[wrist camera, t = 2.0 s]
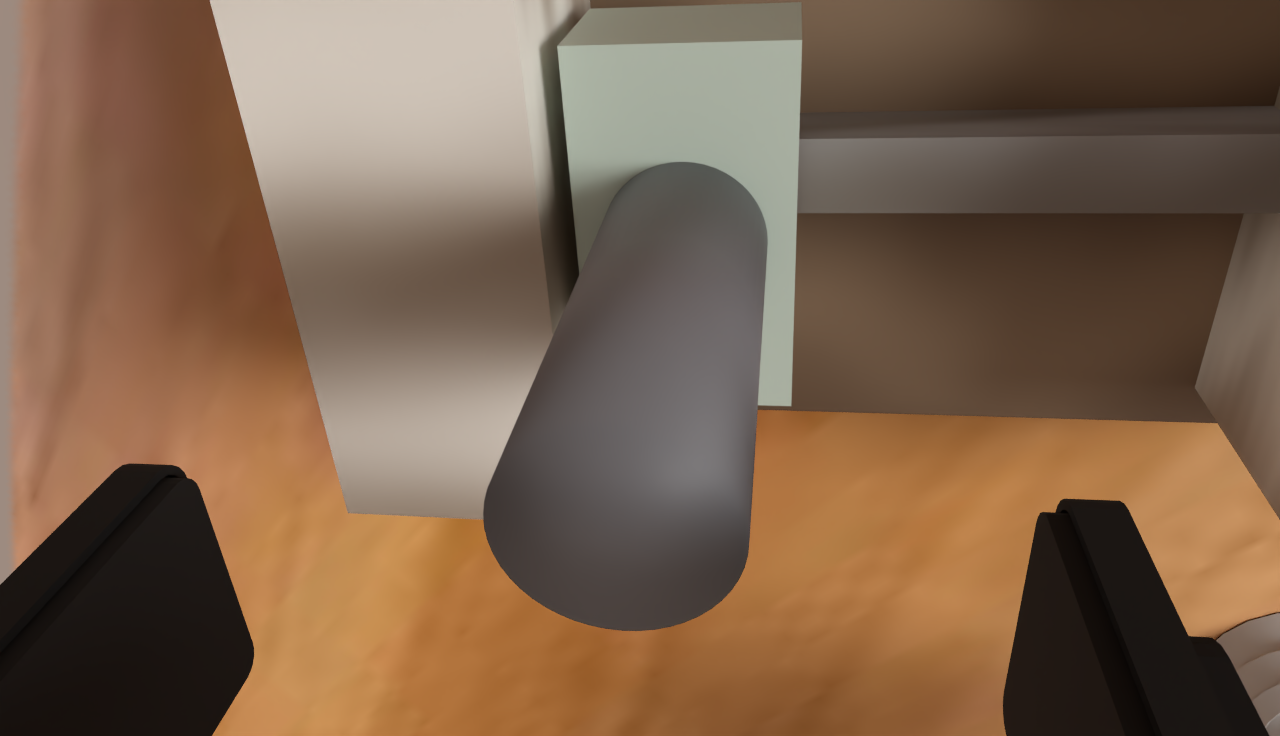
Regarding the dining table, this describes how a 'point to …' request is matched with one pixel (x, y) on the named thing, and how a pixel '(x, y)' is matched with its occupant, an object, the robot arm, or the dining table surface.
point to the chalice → (1258, 665)
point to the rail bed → (826, 216)
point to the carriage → (660, 316)
